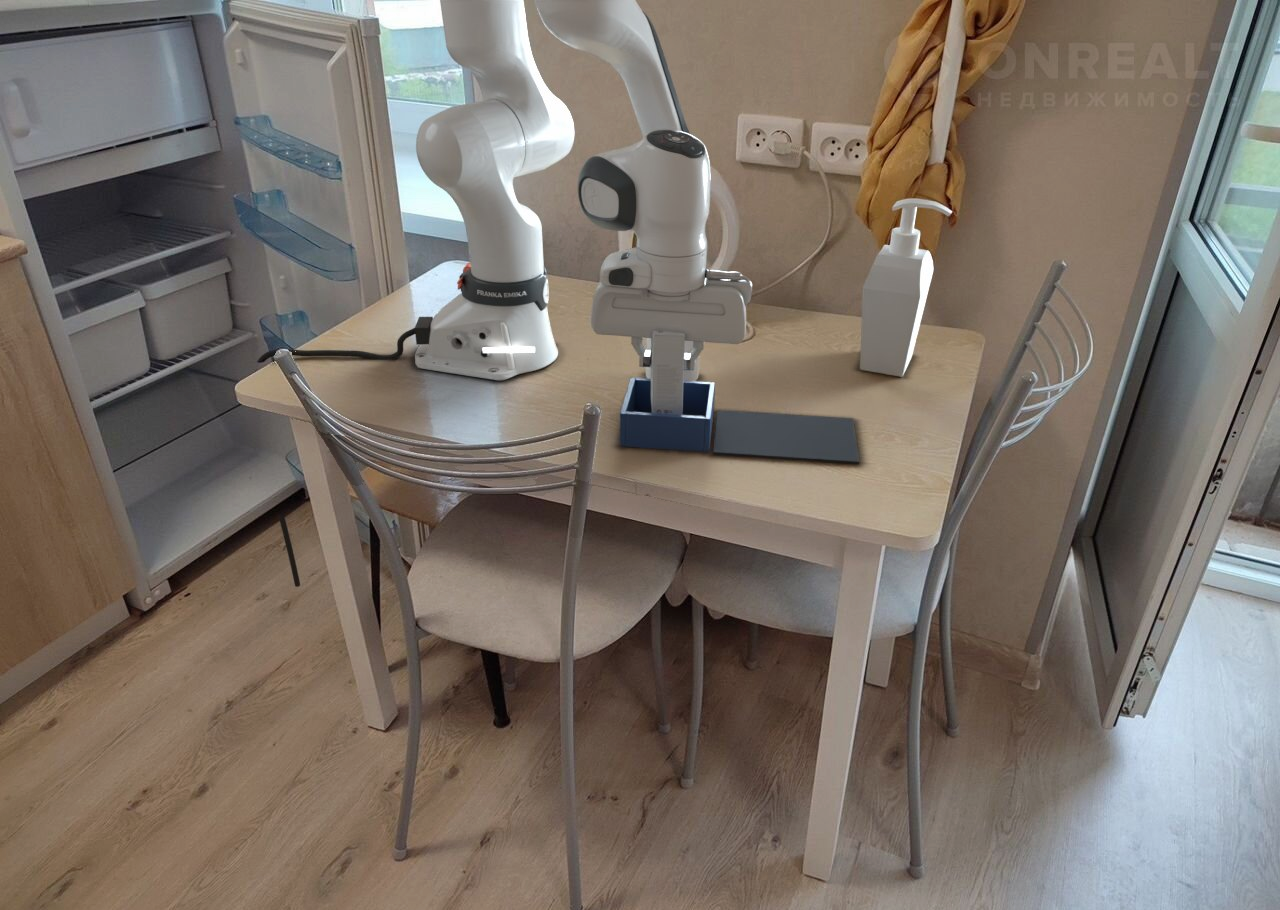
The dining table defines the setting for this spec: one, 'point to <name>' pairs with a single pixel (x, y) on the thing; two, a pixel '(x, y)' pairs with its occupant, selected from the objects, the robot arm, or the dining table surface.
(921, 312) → the soap bottle
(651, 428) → the bin
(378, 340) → the dining table surface
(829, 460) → the mat
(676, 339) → the cosmetic box
